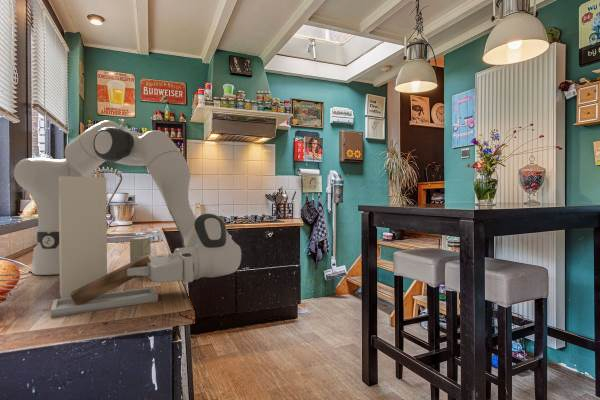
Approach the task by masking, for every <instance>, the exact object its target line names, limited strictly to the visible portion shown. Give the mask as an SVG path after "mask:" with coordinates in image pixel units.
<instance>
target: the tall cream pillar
mask: <svg viewBox="0 0 600 400" xmlns="http://www.w3.org/2000/svg"><path fill="white" fill-rule="evenodd" d="M107 204H108V203H107V177H105V176H102V177H99V176H97V177H96V176H95V177H69V176H60V177H59V255H60V274H59V296H60V299H65V298H71V296H70V295H71V292H73V291H75V290H77V289H79V288H81V287H83V286H85V285H87V284H89V283H91V282H93V281H95V280H97V279H99V278H101V277H103V276H105V275H107V274H108V229H107V227H108V226H107V225H108V224H107V223H108V222H107V221H108V220H107V219H108V218H107V217H108V216H107V215H108V213H107V212H108V210H107V207H108V206H107ZM106 293H108V292H106Z"/></svg>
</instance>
